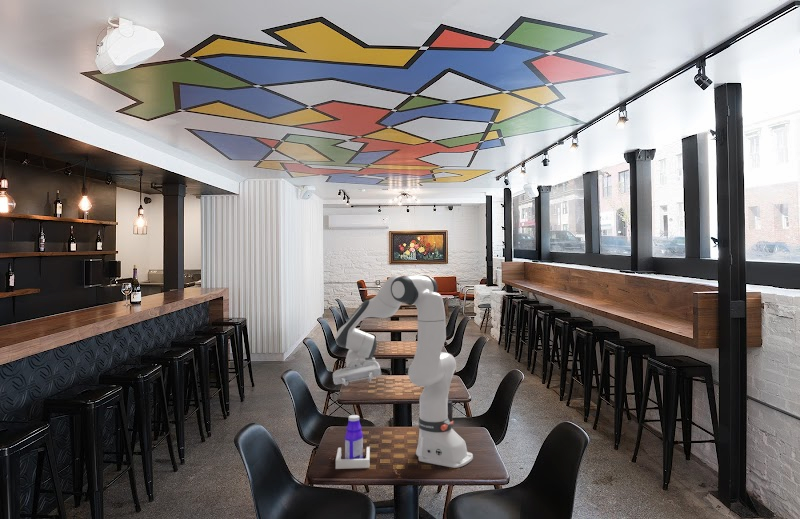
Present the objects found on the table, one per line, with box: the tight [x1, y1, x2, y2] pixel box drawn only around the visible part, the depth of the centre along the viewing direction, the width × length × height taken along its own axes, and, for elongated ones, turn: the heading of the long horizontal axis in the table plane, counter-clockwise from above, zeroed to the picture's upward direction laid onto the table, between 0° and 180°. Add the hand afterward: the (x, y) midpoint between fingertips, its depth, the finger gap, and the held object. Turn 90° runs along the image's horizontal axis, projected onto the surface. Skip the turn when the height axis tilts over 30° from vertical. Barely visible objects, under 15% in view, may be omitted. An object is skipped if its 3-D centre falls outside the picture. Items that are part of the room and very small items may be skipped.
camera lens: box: [448, 397, 454, 428], centre depth 210 cm, size 8×8×15 cm
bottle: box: [344, 414, 364, 459], centre depth 182 cm, size 7×6×17 cm
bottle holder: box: [335, 446, 371, 470], centre depth 183 cm, size 12×12×3 cm
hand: (357, 381), depth 195 cm, fingers open, 8 cm apart
